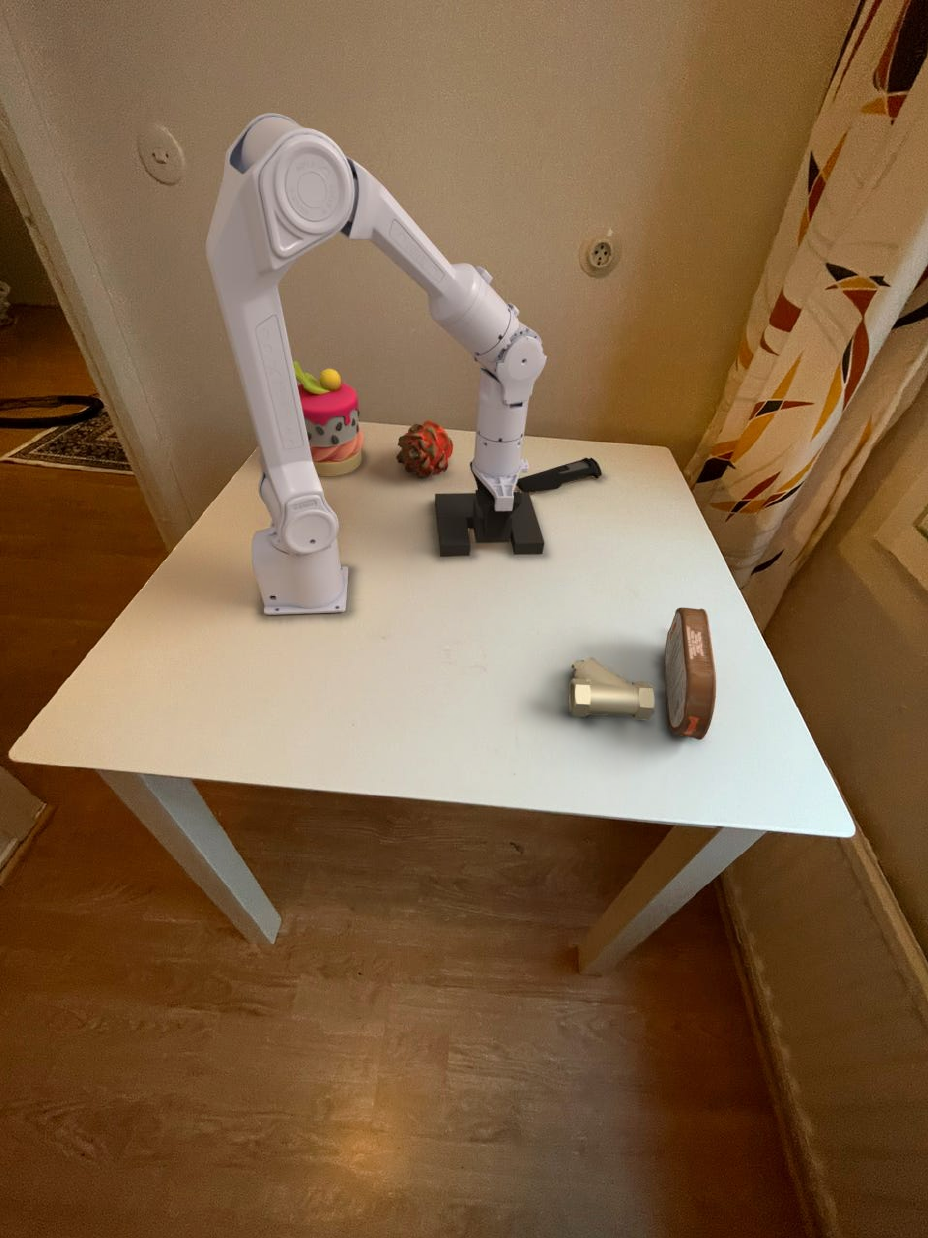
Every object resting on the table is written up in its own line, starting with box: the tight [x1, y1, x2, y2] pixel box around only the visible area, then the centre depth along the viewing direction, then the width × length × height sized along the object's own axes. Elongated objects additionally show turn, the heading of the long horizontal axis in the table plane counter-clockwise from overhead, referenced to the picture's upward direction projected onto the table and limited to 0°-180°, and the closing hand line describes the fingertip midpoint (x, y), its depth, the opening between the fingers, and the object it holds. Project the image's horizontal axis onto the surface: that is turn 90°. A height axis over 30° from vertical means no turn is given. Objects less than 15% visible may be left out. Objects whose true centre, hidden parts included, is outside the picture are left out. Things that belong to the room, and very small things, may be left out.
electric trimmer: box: [516, 457, 603, 494], centre depth 88 cm, size 4×16×3 cm, turn 118°
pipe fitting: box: [567, 657, 656, 721], centre depth 59 cm, size 8×4×7 cm
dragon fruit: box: [396, 419, 454, 479], centre depth 87 cm, size 8×8×12 cm
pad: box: [472, 499, 513, 544], centre depth 75 cm, size 5×5×4 cm
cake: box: [292, 360, 365, 477], centre depth 85 cm, size 10×11×15 cm
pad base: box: [434, 491, 546, 558], centre depth 79 cm, size 14×12×2 cm
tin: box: [664, 607, 717, 741], centre depth 58 cm, size 15×3×8 cm, turn 168°
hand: (490, 524), depth 76 cm, fingers closed on pad, 4 cm apart
